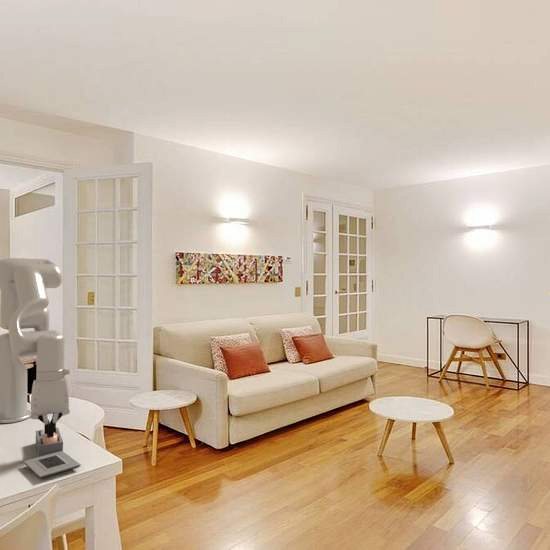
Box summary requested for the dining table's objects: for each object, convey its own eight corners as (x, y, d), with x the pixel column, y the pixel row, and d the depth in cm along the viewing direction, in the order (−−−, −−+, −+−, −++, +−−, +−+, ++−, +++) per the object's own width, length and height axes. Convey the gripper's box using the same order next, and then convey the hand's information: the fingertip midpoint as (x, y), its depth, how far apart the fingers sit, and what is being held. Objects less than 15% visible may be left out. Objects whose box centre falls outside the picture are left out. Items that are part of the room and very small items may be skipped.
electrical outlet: (80, 471, 126) (80, 463, 126) (40, 484, 119) (40, 475, 119) (62, 457, 136) (62, 449, 136) (23, 468, 128) (23, 460, 128)
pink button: (42, 447, 139) (42, 434, 138) (56, 445, 141) (56, 432, 141) (43, 452, 135) (43, 439, 135) (57, 449, 137) (58, 436, 137)
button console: (35, 443, 145) (35, 430, 145) (57, 439, 149) (57, 427, 148) (38, 459, 133) (38, 445, 133) (62, 455, 137) (62, 441, 136)
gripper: (75, 370, 145) (75, 427, 145) (21, 375, 137) (21, 436, 137) (79, 375, 138) (78, 435, 138) (22, 380, 130) (22, 444, 131)
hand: (50, 435), depth 138 cm, fingers closed
